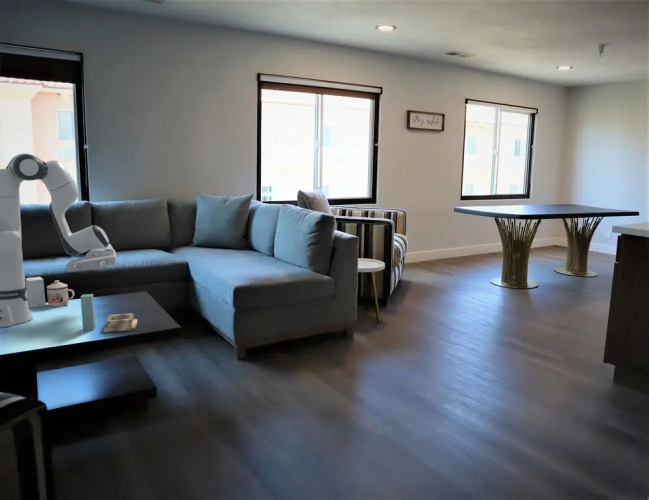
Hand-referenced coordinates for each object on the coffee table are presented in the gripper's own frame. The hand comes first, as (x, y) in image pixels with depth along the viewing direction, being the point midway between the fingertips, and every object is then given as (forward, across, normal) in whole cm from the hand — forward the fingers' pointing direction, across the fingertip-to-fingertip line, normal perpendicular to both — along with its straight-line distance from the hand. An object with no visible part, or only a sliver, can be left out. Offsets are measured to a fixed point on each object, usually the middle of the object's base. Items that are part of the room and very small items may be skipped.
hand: (87, 267), depth 213 cm
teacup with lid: (-29, -25, +23) cm, 45 cm away
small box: (-29, -36, +21) cm, 51 cm away
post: (+13, -1, +22) cm, 26 cm away
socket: (+12, +11, +24) cm, 29 cm away
